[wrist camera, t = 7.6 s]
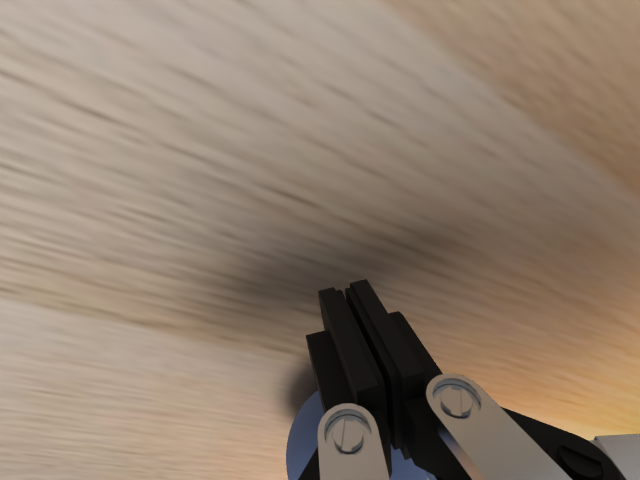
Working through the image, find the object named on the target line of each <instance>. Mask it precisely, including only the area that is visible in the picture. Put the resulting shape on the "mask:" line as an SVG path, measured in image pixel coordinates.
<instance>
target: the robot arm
mask: <svg viewBox="0 0 640 480" xmlns="http://www.w3.org/2000/svg"><path fill="white" fill-rule="evenodd" d="M345 293H346V299H345V296H344V294H343V292H342V290H338V291H336V290H335V288H334V287H332V288H328V289H324V290H320V291H318V294H319V300H320V306H321V312H322V318H323V324H324V330H325V331H321V332H317V333H313V334H310V335H306V339H307V344H308V349H309V354H310V358H311V362H312V367H313V371H314V375H315V379H316V383H317V387H318V391H319V395H320V399H321V403H322V407H323V411H324V416H323V417H322V419H321V421H320V423H319V426H318V435H317V437H318V447H317V448H316V450H315V452H314V453H313V455H312V457H311V458H310V460H309V462H308V464H307V465H306V467H305V469H304V470H303V472H302V474H301V475H300V477H299V479H298V480H390V477H391V475H392V458H391V445H392V447H393V449H394V450H397V449H400V450H401V452H402V455H403V457H404V459H405V460H407V459H410V458H412V460H413V462H414V465H415V466H417V467H419V468H421V469H423V470H425V472H426V474H427V476H428V478H429V480H640V434H628V435H609V436H595V439H594V440H591V441H588V440H586V439H584V438H581V437H579V436H577V435H575V434H572V433H569V432H567V431H564V430H561V429H559V428H556V427H553V426H551V425H548V424H545V423H543V422H540V421H537V420H535V419H532V418H529V417H527V416H524V415H521V414H519V413H516V412H513V411H511V410H508V409H505V408H503V407H500V406H499V405H498V404H497V403H496V402H495V401H494V400H493V399H492V398H491V397H490V396H489V395H488V394H487V393H486V392H485V391H484V390H483V389H482V388H481V387H480V386H479V385H478V384H476V383H475V382H474V381H473V380H471V379H469V378H467V377H465V376H462V375H458V374H454V373H453V374H443V373H442V372H441V370H440V369H439V368H438V366H437V365H436V363H435V362H434V360H433V359H432V357H431V356H430V354H429V353H428V351H427V350H426V349H425V347H424V346H423V344H422V343H421V341H420V340H419V338H418V337H417V335H416V334H415V332H414V331H413V330H412V328H411V327H410V325H409V324H408V322H407V321H406V319H405V318H404V316H403V315H402V314H401V313H400V312H399V311H397V312H393V313H389V314H388V313H387V311H386V309H385V308H384V306H383V305H382V303H381V302H380V300H379V298H378V297H377V295H376V294H375V292H374V290H373V289H372V287H371V286H370V284H369V282H368V281H367V280H366V279H365V280H361V281H357V282H353V283H350V288H346V289H345Z"/></svg>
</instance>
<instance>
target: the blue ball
mask: <svg viewBox="0 0 640 480" xmlns="http://www.w3.org/2000/svg"><path fill="white" fill-rule="evenodd" d="M323 416H324V411H323V407H322V403H321V399H320V395H319V391H318V390H317V391H316V392H315V393H313V394H312V395H311V396H310V397H309V398H308V399H307V400H306V401H305V403H304V404H303V405H302V407H301V408H300V410H299V411H298V413H297V415H296V417H295V419H294V421H293V424H292V426H291V429H290V433H289V437H288V442H287V450H286V465H287V474H288V479H289V480H298V479H299V477H300V475H301V474H302V472H303V470H304V469H305V467H306V465H307V464H308V462H309V460H310V458H311V457H312V455H313V453H314V452H315V450H316V448H317V447H318V437H317V435H318V426H319V423H320V421H321V419H322V417H323ZM391 458H392V475H391V477H390V480H427V478H428V476H427V474H426V472H425V470H423V469H421V468H419V467H417V466H415V465H414V462H413V460H412V458H410V459H407V460H405V459H404V457H403V455H402V452H401V450H400V449H397V450H394V449H393V447H392V445H391Z"/></svg>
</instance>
